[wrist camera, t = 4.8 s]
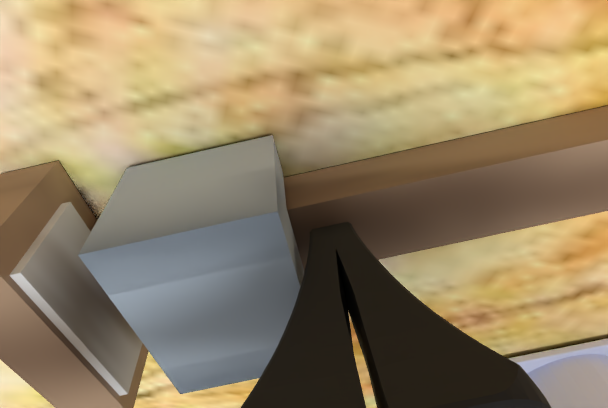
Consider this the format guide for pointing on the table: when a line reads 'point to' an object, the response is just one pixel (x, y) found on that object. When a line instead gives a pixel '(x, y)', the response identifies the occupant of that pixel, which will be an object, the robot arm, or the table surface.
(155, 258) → the slider
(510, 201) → the brown piece
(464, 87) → the table surface
